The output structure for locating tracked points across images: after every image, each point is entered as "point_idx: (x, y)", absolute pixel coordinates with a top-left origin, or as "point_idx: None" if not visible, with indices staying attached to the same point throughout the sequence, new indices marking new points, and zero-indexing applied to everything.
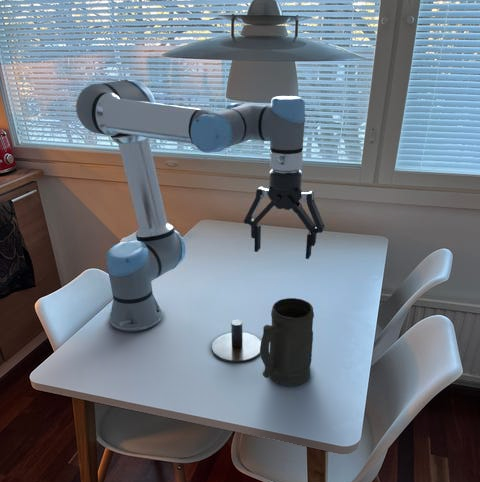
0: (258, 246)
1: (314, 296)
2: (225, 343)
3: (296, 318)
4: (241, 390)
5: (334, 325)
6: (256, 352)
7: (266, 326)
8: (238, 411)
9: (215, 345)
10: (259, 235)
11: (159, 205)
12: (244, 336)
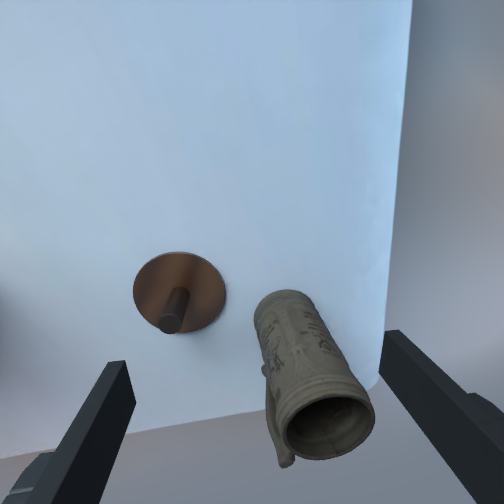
0: (123, 408)
1: (256, 5)
2: (157, 298)
3: (345, 453)
4: (235, 370)
5: (329, 147)
6: (219, 298)
7: (285, 465)
8: (248, 398)
9: (144, 309)
10: (87, 469)
11: None
12: (177, 265)
